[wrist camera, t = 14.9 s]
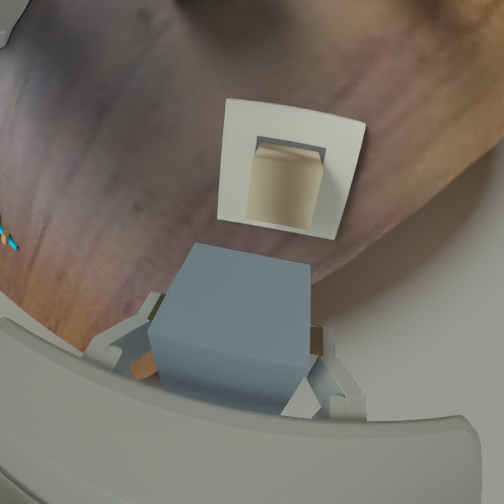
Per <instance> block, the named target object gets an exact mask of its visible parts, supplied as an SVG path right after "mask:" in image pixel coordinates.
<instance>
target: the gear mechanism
mask: <svg viewBox="0 0 504 504" xmlns="http://www.w3.org/2000/svg"><path fill="white" fill-rule="evenodd" d="M0 233H1V234H2V242H3V243H4V244H5V245H6V244H7V243H8V242H9V243H10V245H11V246H12V247H13V248H14V249H15V250H16V249H17V247H18V245H17V244H16V243H15V242H14V240H13V239H12V238H11V237H10V233H9V232H8V231H7V230H4V229H3V228H2V226H1V225H0Z"/></svg>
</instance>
